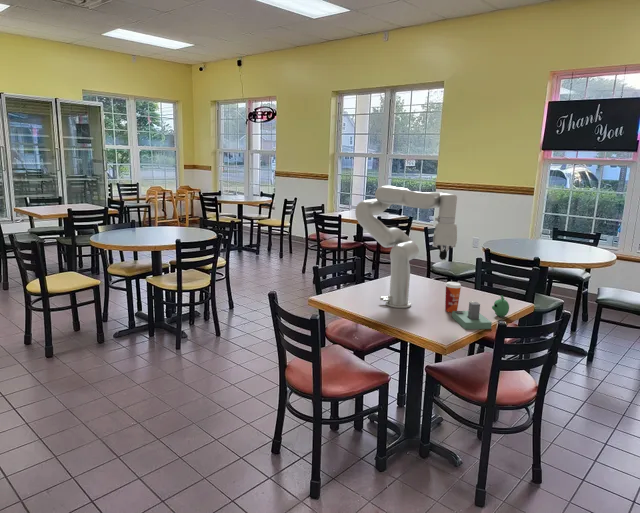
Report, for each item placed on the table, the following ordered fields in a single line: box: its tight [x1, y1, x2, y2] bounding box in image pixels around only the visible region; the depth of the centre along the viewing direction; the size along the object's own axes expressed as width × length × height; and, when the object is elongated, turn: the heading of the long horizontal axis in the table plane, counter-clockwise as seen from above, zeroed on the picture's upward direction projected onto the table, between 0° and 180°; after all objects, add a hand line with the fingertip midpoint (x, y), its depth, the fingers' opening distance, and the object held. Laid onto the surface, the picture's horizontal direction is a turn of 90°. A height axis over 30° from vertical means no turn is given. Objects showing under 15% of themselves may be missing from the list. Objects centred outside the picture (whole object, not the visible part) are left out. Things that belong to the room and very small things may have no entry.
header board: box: [451, 310, 493, 330], centre depth 217 cm, size 12×16×3 cm
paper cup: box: [444, 281, 462, 314], centre depth 232 cm, size 8×8×14 cm
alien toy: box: [491, 295, 510, 318], centre depth 227 cm, size 7×8×10 cm
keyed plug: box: [467, 301, 481, 320], centre depth 215 cm, size 4×5×10 cm
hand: (442, 259), depth 224 cm, fingers closed
